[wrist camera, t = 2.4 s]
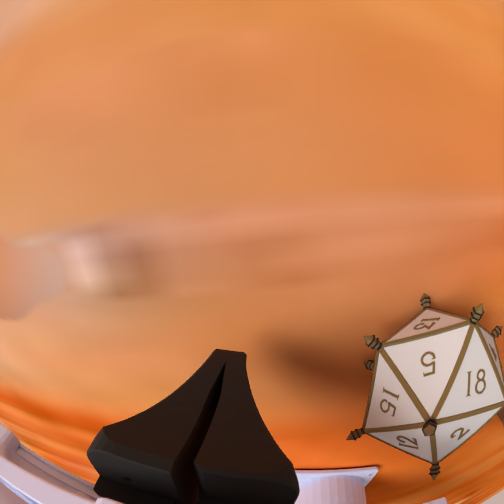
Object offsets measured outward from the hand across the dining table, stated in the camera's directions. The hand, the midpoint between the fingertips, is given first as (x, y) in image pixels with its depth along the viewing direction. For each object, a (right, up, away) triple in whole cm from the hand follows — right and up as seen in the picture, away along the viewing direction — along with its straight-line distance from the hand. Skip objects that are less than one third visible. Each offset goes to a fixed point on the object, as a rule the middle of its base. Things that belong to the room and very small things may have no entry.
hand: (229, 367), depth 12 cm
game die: (+10, 0, +2) cm, 10 cm away
